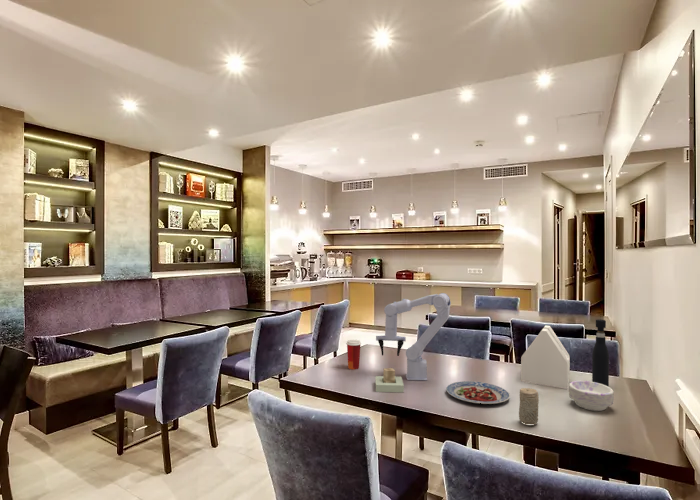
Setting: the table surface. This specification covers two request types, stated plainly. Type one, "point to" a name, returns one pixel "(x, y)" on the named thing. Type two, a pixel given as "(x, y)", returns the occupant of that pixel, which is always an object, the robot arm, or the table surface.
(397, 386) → the socket block
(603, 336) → the wine bottle
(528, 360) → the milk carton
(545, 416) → the table surface
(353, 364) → the paper cup
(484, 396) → the ceramic plate
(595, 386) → the white round bowl
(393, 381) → the maple peg
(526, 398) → the jute twine spool
